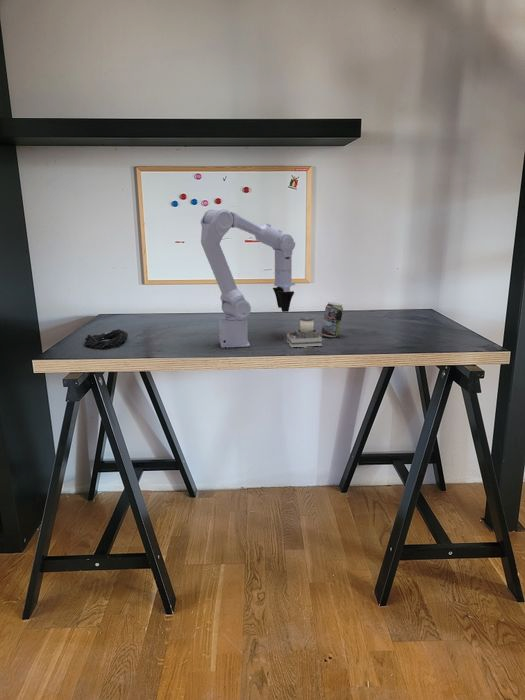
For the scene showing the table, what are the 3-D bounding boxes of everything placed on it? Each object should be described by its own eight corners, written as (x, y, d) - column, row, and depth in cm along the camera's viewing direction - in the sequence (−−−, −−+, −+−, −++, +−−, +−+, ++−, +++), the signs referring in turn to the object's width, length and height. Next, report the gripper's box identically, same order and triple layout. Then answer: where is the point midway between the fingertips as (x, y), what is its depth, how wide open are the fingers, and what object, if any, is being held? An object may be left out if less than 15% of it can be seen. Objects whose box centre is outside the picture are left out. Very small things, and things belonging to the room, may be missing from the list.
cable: (123, 350, 168) (122, 337, 167) (79, 352, 167) (78, 339, 166) (130, 337, 185) (129, 325, 184) (90, 339, 183) (88, 327, 182)
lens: (301, 337, 168) (302, 319, 166) (298, 334, 172) (298, 316, 171) (315, 336, 169) (315, 318, 167) (311, 333, 173) (311, 316, 171)
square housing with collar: (291, 348, 166) (291, 334, 165) (286, 342, 174) (286, 329, 173) (321, 346, 168) (321, 333, 167) (315, 340, 175) (315, 327, 174)
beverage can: (318, 335, 183) (318, 302, 180) (336, 333, 185) (337, 300, 182) (326, 339, 177) (327, 305, 174) (345, 337, 180) (346, 303, 176)
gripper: (299, 272, 168) (298, 313, 172) (290, 267, 182) (290, 305, 186) (277, 272, 167) (278, 313, 171) (270, 268, 181) (271, 306, 185)
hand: (283, 309), depth 178 cm, fingers open, 7 cm apart
